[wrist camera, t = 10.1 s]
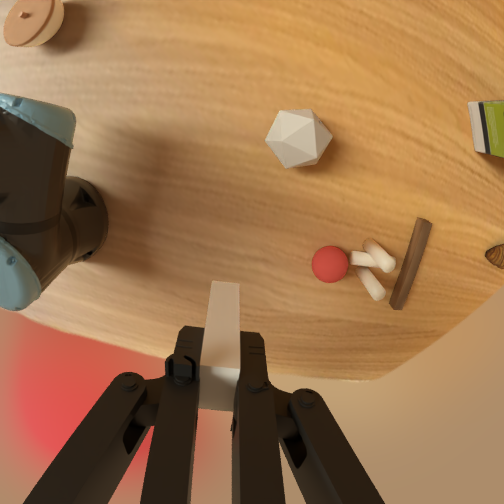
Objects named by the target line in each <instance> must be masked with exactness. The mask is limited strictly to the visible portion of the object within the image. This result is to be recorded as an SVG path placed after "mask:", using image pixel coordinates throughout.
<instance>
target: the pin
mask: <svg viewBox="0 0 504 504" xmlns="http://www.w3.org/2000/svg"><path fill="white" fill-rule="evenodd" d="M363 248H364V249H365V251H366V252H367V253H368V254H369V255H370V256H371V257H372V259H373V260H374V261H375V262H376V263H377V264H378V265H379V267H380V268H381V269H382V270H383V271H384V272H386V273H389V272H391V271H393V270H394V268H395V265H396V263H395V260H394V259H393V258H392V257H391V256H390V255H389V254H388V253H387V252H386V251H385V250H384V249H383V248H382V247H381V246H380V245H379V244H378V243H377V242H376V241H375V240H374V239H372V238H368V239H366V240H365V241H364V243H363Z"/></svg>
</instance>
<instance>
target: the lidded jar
mask: <svg viewBox="0 0 504 504" xmlns="http://www.w3.org/2000/svg"><path fill="white" fill-rule="evenodd" d="M63 18H64V7H63V4H62V2H61V0H18V1H17V2H16V3H15V5H14V6H13V7H12V9H11V10H10V12H9V14H8V16H7V18H6V21H5V24H4V38H5V41H6V42H7V43H8V44H9V45H11V46H17V47H18V46H19V47H35V46H38V45H41V44H43V43H45V42H46V41H48V40H49V39H50V38H52V37H53V36H54V35H55V34H56V33H57V31H58V30H59V29H60V27H61V25H62V22H63Z"/></svg>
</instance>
